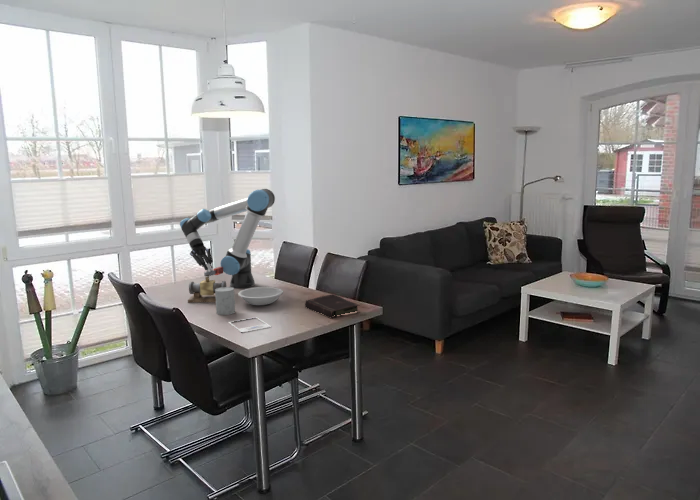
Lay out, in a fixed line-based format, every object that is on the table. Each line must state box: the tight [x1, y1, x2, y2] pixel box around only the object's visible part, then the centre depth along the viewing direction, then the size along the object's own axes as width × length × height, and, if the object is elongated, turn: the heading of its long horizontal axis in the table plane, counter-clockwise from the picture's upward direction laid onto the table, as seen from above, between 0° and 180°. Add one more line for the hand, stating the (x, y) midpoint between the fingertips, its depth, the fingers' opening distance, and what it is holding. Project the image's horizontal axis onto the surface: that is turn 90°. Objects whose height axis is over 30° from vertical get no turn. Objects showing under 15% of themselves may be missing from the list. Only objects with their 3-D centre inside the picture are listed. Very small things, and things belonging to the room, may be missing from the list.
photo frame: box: [227, 316, 272, 333], centre depth 245 cm, size 15×1×18 cm
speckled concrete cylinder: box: [214, 286, 236, 316], centre depth 265 cm, size 10×10×12 cm
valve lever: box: [203, 266, 224, 278], centre depth 294 cm, size 3×16×4 cm, turn 160°
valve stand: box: [187, 276, 227, 304], centre depth 289 cm, size 20×11×13 cm, turn 91°
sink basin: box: [237, 286, 284, 306], centre depth 281 cm, size 24×24×7 cm
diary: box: [304, 293, 361, 319], centre depth 268 cm, size 19×25×5 cm
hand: (211, 273), depth 297 cm, fingers closed
